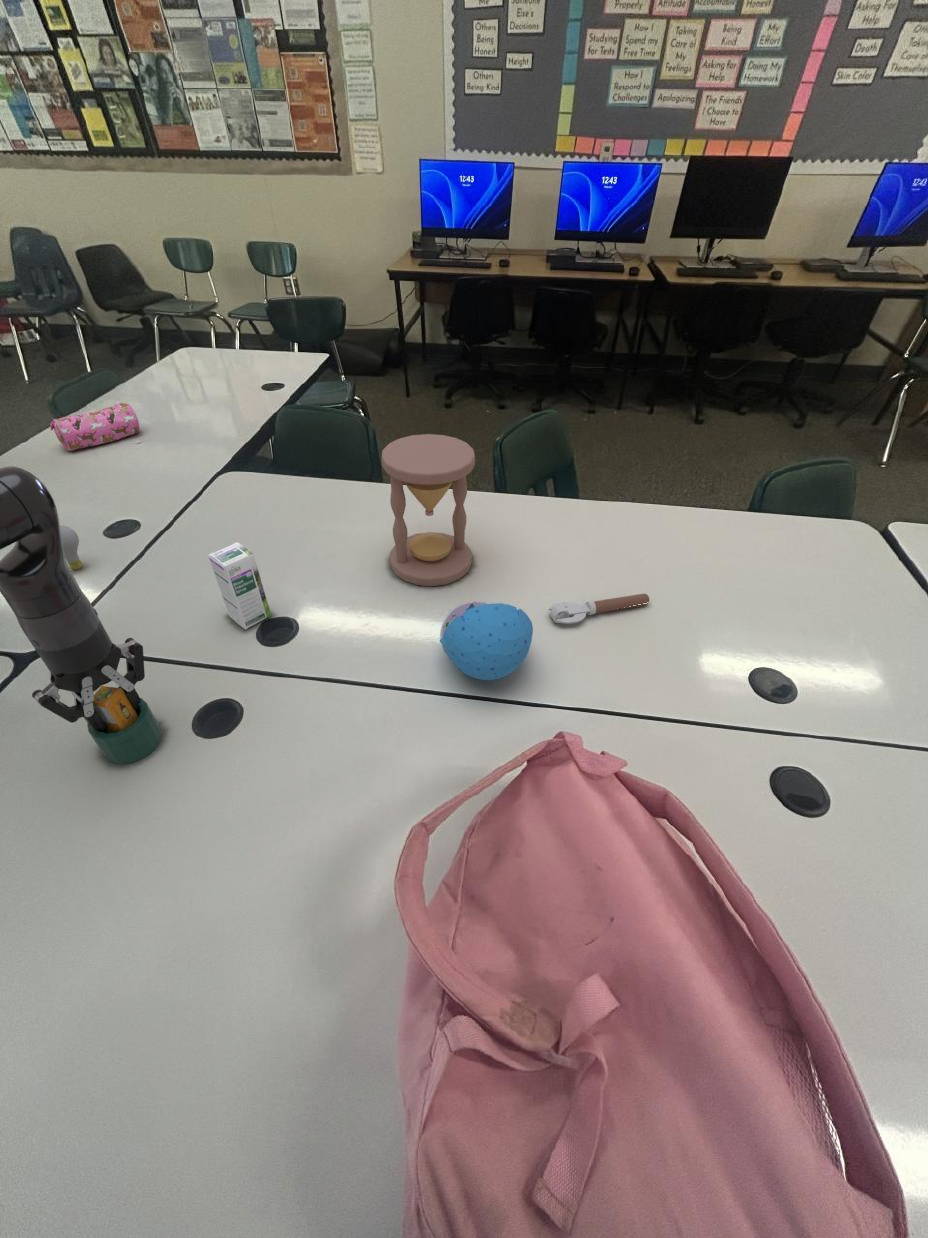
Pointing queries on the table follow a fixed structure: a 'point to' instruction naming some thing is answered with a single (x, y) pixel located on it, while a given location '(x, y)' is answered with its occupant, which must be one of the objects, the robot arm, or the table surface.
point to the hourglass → (429, 506)
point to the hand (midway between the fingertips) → (117, 716)
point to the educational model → (486, 639)
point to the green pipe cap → (130, 738)
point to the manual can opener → (593, 607)
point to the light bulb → (70, 546)
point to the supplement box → (114, 708)
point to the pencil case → (96, 427)
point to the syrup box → (240, 584)
